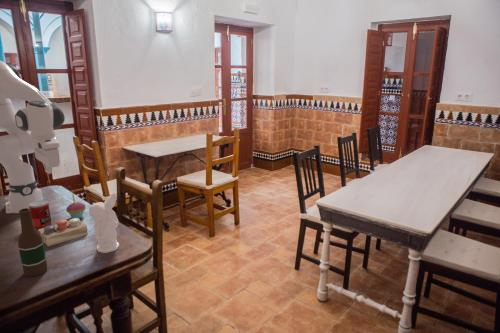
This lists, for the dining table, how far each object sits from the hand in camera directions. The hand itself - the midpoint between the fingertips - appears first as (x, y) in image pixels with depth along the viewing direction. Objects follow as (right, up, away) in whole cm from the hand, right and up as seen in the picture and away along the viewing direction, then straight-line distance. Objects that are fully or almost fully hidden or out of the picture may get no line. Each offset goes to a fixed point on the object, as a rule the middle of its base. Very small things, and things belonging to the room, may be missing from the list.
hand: (48, 172), depth 154 cm
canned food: (-11, -25, +14) cm, 30 cm away
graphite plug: (+1, -28, -1) cm, 28 cm away
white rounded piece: (+8, -26, +6) cm, 28 cm away
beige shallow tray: (+5, -28, +3) cm, 28 cm away
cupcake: (+1, -22, +23) cm, 32 cm away
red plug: (+5, -26, +3) cm, 27 cm away
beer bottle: (+9, -35, -24) cm, 43 cm away
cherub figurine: (+27, -30, -6) cm, 41 cm away
